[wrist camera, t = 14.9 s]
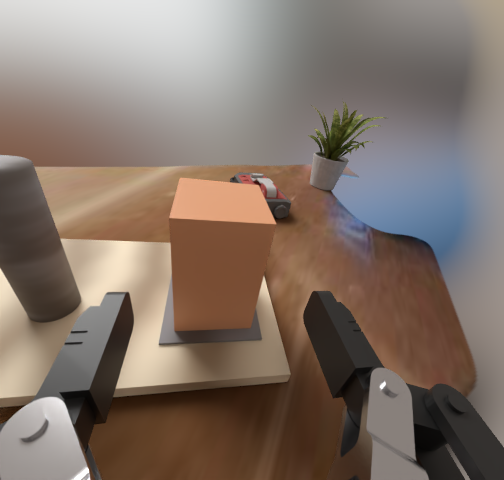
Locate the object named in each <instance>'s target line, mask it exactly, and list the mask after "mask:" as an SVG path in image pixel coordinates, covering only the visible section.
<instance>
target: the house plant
mask: <svg viewBox="0 0 504 480" xmlns="http://www.w3.org/2000/svg"><path fill="white" fill-rule="evenodd" d="M315 109H316V108H315ZM344 110H345V111H344V112H345V115H344V112H343V119H342V124H341V125H340V117H339V114H338V111H337V110H336V109H335V111H334V116H333V122H332V127H331V131H330V133H329V129H328V126H327V122H326V118H325V116H324V119H325V122H324V120H323V118H322V116H321V114H320V113H319V111H318V110H317V111H318V113H319V115H320V117H321V119H322V121H323V125H324V128H325V132H326V136H327V139H326V138H324V136H323V135H322V134H321V132H320V131H319V130H317V129H315V131H316V133H317V135H318V137H319V138H320V140H321V143H322V145H323V148H324V152H322V147H321V144H320V142H319V141H318V139H317V138H318V137H317V138H316V137H314V136H310V137H311V138H313V139H314V140H315V141H316V142H317V143H318V145H319V147H320V151H321V152H315V153H314V158H313V164H312V171H311V179H310V184H311V185H312V186H314V187H316V188H319V189H322V190H332V189H333V188H334V186H335V185H336V183H337V181H338V179H339V177H340V176H341V174H342V172H343V170H344V169H345V167H346V165H347V163H348V159H346V158H344V157H342V156H343V155H344V154H346V153H348V152H350V153H351V150H352V149H354V148H356V149H357V148H359V145H362V146H363V147H364V145H363V144H364V143H366V142H369V141H366V142H362V143H360V144H358V145H351V144H353V143H358V142H356V141H352V140H353V139H354V138H355V137H357V136H358V135H359V134H361V133H362V132H363V131H365V130H366V129H368V128H370V127H373V126H378V125H373V126H369V127H367V128H365V129H363V130H362V131H361V132H359V133H358V134H357V135H356V136H355V137H354V138H353V139H352V140H350V141H349V142H348V143H347V144H345V145H344V146H342V144H343V143H344V142H345V141H346V140H347V139H348V138H349V137H350V136H351V135H352V134H353V133H354V132H355V131H356V130H358V129H359V128H360V127H362V126H363V125H364V124H366V123H368V122H370V121H372V120H374V119H377V118H382V117H375V118H371V119H370V118H367V119H369V120H367V119H365V120H363V121H361V122H360V123H359V124H358V125H357V126H356V127H355V128H354V129H353V127H354V126H355V125H356V124H357V122H358V121H359V120H360V118H361V117H362V116H363V115H359V116H357V117H356V118H355V119H354V120H353V118H354V116H355V113H356V111H354V112H353V113H352V114H351V116H350V118H348V109H347V105H346V104H345V108H344ZM383 118H384V117H383ZM352 120H353V121H352ZM364 121H365V122H364ZM325 123H326V126H327V129H326V126H325ZM339 126H340V127H339ZM352 129H353V130H352ZM351 130H352V131H351ZM327 131H328V134H327ZM350 131H351V132H350ZM325 139H326V141H325ZM341 146H342V147H341ZM350 146H354V147H353V148H351V149H347V148H349V147H350ZM345 150H347V152H345V153H344V154H343V155H341V154H342V153H343V152H344V151H345ZM340 155H341V156H340Z"/></svg>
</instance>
